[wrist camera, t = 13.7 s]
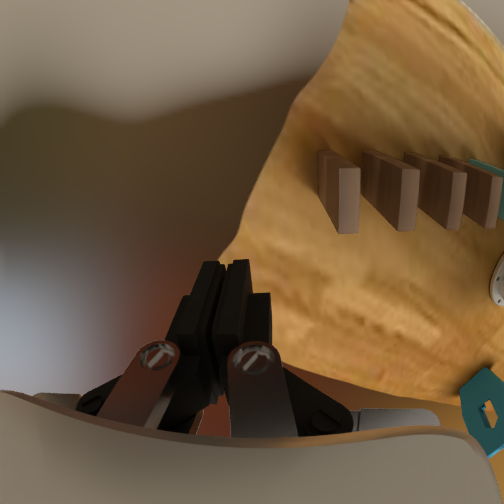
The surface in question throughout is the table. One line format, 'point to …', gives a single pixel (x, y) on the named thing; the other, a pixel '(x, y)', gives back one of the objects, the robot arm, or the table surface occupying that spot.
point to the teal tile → (503, 207)
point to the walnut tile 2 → (391, 189)
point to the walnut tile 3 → (439, 190)
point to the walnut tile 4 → (478, 192)
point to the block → (473, 407)
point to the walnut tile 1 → (339, 190)
